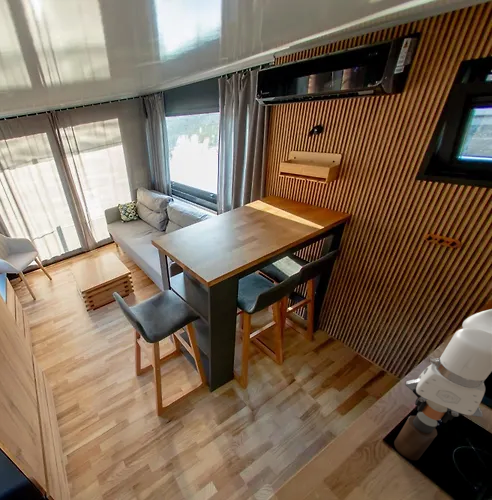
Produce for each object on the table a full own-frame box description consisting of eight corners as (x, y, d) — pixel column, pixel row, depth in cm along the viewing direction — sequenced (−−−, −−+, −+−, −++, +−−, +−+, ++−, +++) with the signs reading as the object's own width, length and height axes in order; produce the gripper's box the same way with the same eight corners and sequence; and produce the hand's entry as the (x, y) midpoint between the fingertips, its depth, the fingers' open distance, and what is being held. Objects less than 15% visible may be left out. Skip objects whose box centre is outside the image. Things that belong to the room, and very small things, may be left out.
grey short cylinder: (432, 425, 75) (437, 417, 73) (432, 436, 73) (437, 429, 71) (413, 416, 78) (417, 408, 76) (412, 427, 75) (417, 420, 74)
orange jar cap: (441, 411, 72) (447, 403, 70) (441, 423, 69) (447, 415, 68) (421, 402, 74) (426, 394, 73) (420, 413, 72) (425, 405, 70)
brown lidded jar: (420, 447, 82) (437, 424, 75) (419, 465, 78) (437, 442, 72) (394, 434, 86) (408, 411, 79) (393, 450, 82) (407, 427, 75)
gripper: (411, 364, 67) (389, 404, 75) (518, 404, 56) (479, 446, 64) (412, 345, 71) (392, 385, 80) (512, 379, 60) (476, 421, 69)
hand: (431, 412), depth 72 cm, fingers closed on orange jar cap, 4 cm apart
